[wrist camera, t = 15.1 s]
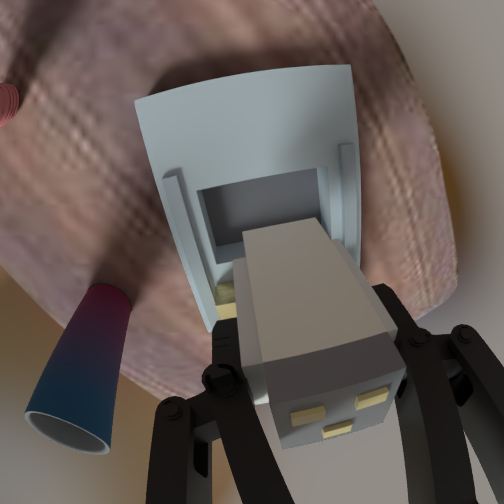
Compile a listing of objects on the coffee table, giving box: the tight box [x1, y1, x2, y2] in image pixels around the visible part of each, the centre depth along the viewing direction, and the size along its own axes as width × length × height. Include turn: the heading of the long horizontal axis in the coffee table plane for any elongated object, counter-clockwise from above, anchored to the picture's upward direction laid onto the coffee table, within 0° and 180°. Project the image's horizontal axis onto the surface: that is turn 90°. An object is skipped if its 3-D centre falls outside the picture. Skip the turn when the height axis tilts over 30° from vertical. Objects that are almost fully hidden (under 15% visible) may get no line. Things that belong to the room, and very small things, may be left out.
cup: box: [24, 284, 131, 455], centre depth 20 cm, size 7×7×15 cm
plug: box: [242, 217, 407, 449], centre depth 12 cm, size 4×4×10 cm
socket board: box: [134, 65, 361, 332], centre depth 22 cm, size 20×14×4 cm
